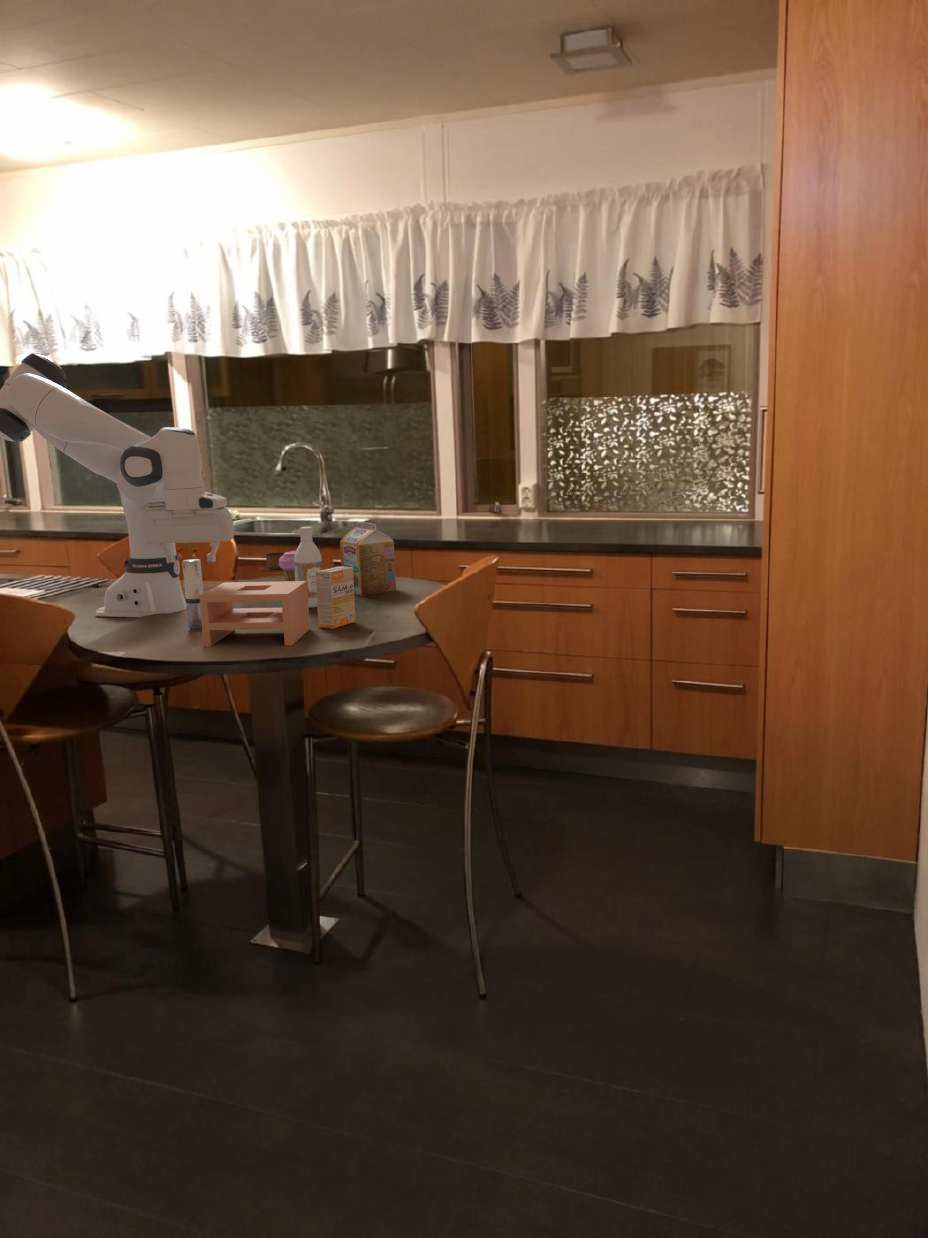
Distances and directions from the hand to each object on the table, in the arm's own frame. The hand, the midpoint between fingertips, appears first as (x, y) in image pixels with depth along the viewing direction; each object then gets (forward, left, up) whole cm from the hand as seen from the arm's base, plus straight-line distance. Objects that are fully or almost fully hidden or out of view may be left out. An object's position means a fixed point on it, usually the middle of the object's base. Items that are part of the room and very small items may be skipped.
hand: (191, 562), depth 222 cm
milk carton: (+32, +44, -16) cm, 57 cm away
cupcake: (+8, +59, -16) cm, 62 cm away
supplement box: (+32, +3, -16) cm, 36 cm away
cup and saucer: (-3, +82, -16) cm, 83 cm away
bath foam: (+20, +27, -16) cm, 37 cm away
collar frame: (+17, -9, -16) cm, 25 cm away
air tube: (0, 0, -16) cm, 16 cm away
